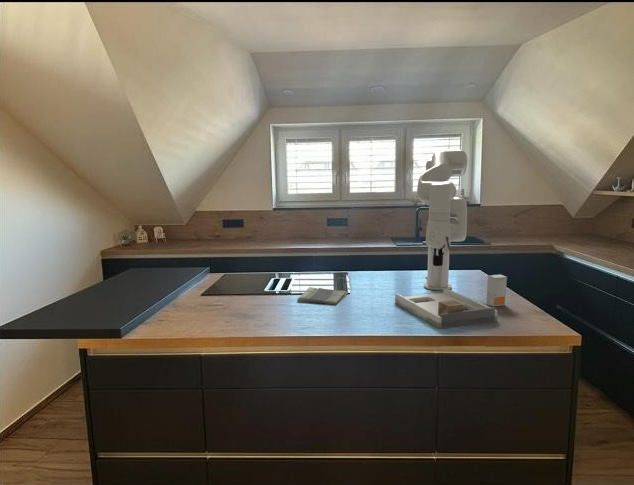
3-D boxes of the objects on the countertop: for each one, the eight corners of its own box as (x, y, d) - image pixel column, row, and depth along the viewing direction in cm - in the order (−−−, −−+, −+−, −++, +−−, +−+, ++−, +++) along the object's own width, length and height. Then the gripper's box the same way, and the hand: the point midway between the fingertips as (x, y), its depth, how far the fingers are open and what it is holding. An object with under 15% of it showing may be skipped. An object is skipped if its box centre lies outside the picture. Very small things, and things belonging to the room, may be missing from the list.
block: (438, 314, 151) (438, 301, 150) (452, 312, 153) (452, 299, 152) (447, 319, 145) (448, 306, 144) (462, 318, 147) (462, 304, 146)
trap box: (395, 302, 173) (395, 291, 172) (445, 297, 179) (445, 285, 179) (438, 328, 142) (439, 314, 142) (496, 321, 149) (497, 307, 148)
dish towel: (337, 307, 170) (337, 299, 169) (296, 303, 176) (296, 295, 175) (348, 294, 187) (348, 287, 187) (311, 291, 193) (311, 285, 192)
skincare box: (492, 307, 165) (494, 277, 163) (485, 303, 169) (487, 275, 167) (505, 305, 167) (507, 276, 165) (498, 302, 171) (500, 274, 169)
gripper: (419, 215, 158) (418, 262, 161) (442, 220, 144) (440, 271, 147) (436, 214, 160) (435, 260, 164) (460, 218, 146) (458, 269, 150)
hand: (437, 265), depth 156 cm, fingers closed
